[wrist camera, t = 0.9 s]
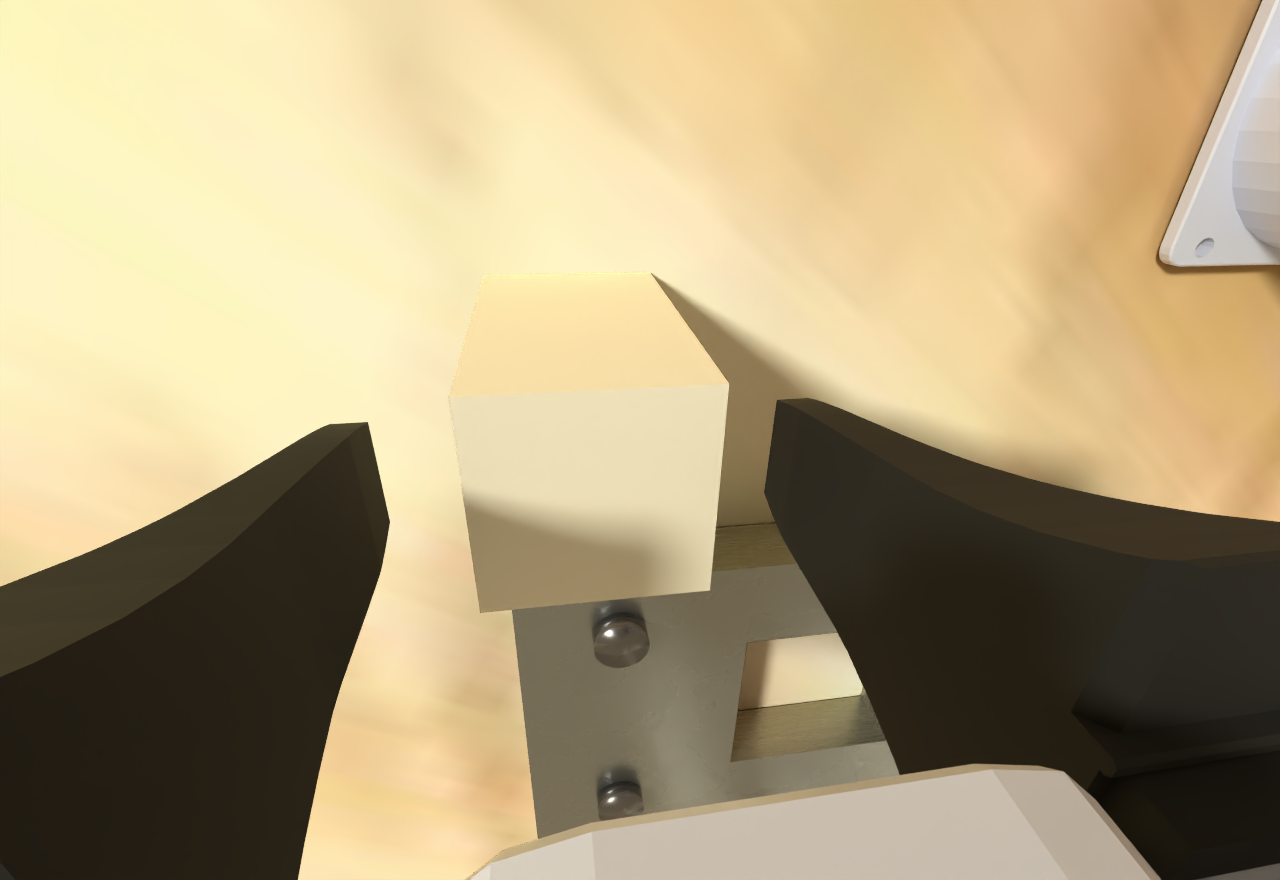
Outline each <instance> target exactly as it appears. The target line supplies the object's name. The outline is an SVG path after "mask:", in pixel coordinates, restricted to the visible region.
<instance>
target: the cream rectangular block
mask: <svg viewBox="0 0 1280 880" xmlns="http://www.w3.org/2000/svg"><path fill="white" fill-rule="evenodd" d="M728 392H729V383H728V381H727V380H726V379H725V377H724V376H723V374H722V373H721V372H720V370H719V369H718V367H717V366H716V364H715V363H714V362H713V360H712V359H711V357H710V356H709V355H708V353H707V352H706V350H705V349H704V348H703V346H702V345H701V343H700V342H699V341H698V339H697V338H696V336H695V335H694V334H693V332H692V331H691V329H690V328H689V327H688V325H687V324H686V322H685V321H684V319H683V318H682V317H681V315H680V314H679V312H678V311H677V310H676V308H675V307H674V305H673V304H672V303H671V301H670V300H669V298H668V297H667V296H666V294H665V293H664V291H663V290H662V289H661V287H660V286H659V284H658V283H657V281H656V280H655V279H654V277H653V276H652V274H651V273H650V272H624V273H574V274H524V275H484V276H483V279H482V283H481V286H480V290H479V293H478V297H477V300H476V303H475V307H474V310H473V314H472V317H471V321H470V324H469V328H468V331H467V335H466V338H465V342H464V345H463V349H462V352H461V356H460V359H459V362H458V366H457V369H456V373H455V376H454V380H453V383H452V387H451V390H450V394H449V404H450V411H451V418H452V425H453V431H454V438H455V445H456V452H457V459H458V465H459V472H460V479H461V486H462V493H463V499H464V506H465V513H466V520H467V527H468V533H469V540H470V547H471V554H472V561H473V567H474V574H475V581H476V588H477V594H478V601H479V608H480V613H483V612H493V611H504V610H514V609H524V608H534V607H545V606H555V605H565V604H576V603H586V602H596V601H606V600H617V599H627V598H637V597H648V596H658V595H668V594H678V593H689V592H699V591H709V590H710V584H711V573H712V563H713V552H714V541H715V531H716V520H717V509H718V499H719V488H720V477H721V467H722V456H723V445H724V435H725V424H726V413H727V403H728Z"/></svg>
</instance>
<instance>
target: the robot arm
mask: <svg viewBox="0 0 1280 880" xmlns="http://www.w3.org/2000/svg"><path fill="white" fill-rule="evenodd" d="M1198 244H1199V246H1198ZM1197 246H1198V247H1197ZM1196 247H1197V249H1196ZM1159 256H1160V260H1161V261H1162V262H1163V263H1166V264H1170V265H1174V266H1178V267H1187V266H1233V265H1280V0H1262V2H1261V5H1260V7H1259V10H1258V12H1257V14H1256V17H1255V19H1254V22H1253V24H1252V26H1251V29H1250V31H1249V34H1248V36H1247V38H1246V41H1245V43H1244V46H1243V48H1242V51H1241V53H1240V55H1239V58H1238V60H1237V63H1236V65H1235V67H1234V70H1233V72H1232V75H1231V77H1230V80H1229V82H1228V84H1227V87H1226V89H1225V92H1224V94H1223V96H1222V99H1221V101H1220V104H1219V106H1218V108H1217V111H1216V113H1215V116H1214V118H1213V121H1212V123H1211V125H1210V128H1209V130H1208V133H1207V135H1206V137H1205V140H1204V142H1203V145H1202V147H1201V149H1200V152H1199V154H1198V157H1197V159H1196V162H1195V164H1194V166H1193V169H1192V171H1191V174H1190V176H1189V178H1188V181H1187V183H1186V186H1185V188H1184V190H1183V193H1182V195H1181V198H1180V200H1179V203H1178V205H1177V207H1176V210H1175V212H1174V215H1173V217H1172V219H1171V222H1170V224H1169V227H1168V229H1167V231H1166V234H1165V236H1164V239H1163V241H1162V244H1161V246H1160V250H1159ZM764 493H765V496H766V499H767V501H768V504H769V507H770V510H771V512H772V515H773V517H774V520H775V522H776V525H777V527H778V529H779V532H780V534H781V536H782V538H783V540H784V542H785V543H786V545H787V547H788V549H789V551H790V552H791V554H792V556H793V557H794V559H795V561H796V563H797V564H798V566H799V568H800V570H801V571H802V573H803V575H804V576H805V578H806V580H807V581H808V583H809V585H810V586H811V588H812V590H813V591H814V593H815V595H816V597H817V598H818V600H819V602H820V603H821V605H822V607H823V608H824V610H825V612H826V613H827V615H828V617H829V619H830V620H831V622H832V624H833V625H834V627H835V629H836V631H837V632H838V634H839V636H840V638H841V640H842V642H843V644H844V646H845V647H846V649H847V651H848V653H849V656H850V658H851V660H852V662H853V665H854V667H855V669H856V671H857V674H858V676H859V678H860V680H861V682H862V685H863V687H864V689H865V691H866V694H867V696H868V698H869V700H870V703H871V705H872V707H873V710H874V712H875V715H876V717H877V720H878V722H879V724H880V727H881V729H882V732H883V734H884V736H885V739H886V741H887V744H888V746H889V748H890V751H891V753H892V756H893V758H894V761H895V764H896V766H897V769H898V771H899V774H900V775H898V776H892V777H885V778H879V779H872V780H866V781H859V782H853V783H846V784H840V785H833V786H827V787H820V788H814V789H807V790H801V791H794V792H788V793H781V794H775V795H768V796H762V797H755V798H749V799H742V800H736V801H729V802H723V803H716V804H710V805H703V806H697V807H690V808H684V809H678V810H671V811H665V812H658V813H652V814H645V815H639V816H632V817H626V818H619V819H613V820H606V821H600V822H593V823H589V824H585V825H582V826H579V827H576V828H572V829H569V830H566V831H563V832H560V833H556V834H553V835H550V836H547V837H543V838H540V839H537V840H534V841H531V842H527V843H524V844H521V845H518V846H515V847H511V848H508V849H505V850H503V851H501V852H500V853H499V854H498V855H496V856H495V857H494V858H492V859H491V860H490V861H488V862H487V863H486V864H485V865H483V866H482V867H481V868H479V869H478V870H477V871H475V872H474V873H473V874H472V875H470V876H469V877H468V878H466V879H465V880H1280V522H1275V521H1266V520H1257V519H1248V518H1239V517H1230V516H1221V515H1212V514H1205V513H1198V512H1191V511H1185V510H1179V509H1172V508H1166V507H1160V506H1154V505H1147V504H1141V503H1136V502H1131V501H1125V500H1120V499H1115V498H1110V497H1105V496H1100V495H1095V494H1091V493H1087V492H1082V491H1078V490H1073V489H1069V488H1064V487H1060V486H1056V485H1051V484H1048V483H1044V482H1040V481H1036V480H1032V479H1028V478H1025V477H1021V476H1018V475H1015V474H1011V473H1008V472H1005V471H1001V470H998V469H995V468H991V467H988V466H984V465H981V464H978V463H975V462H972V461H969V460H966V459H963V458H961V457H958V456H955V455H953V454H950V453H947V452H945V451H942V450H939V449H936V448H934V447H931V446H928V445H926V444H923V443H921V442H918V441H916V440H913V439H911V438H908V437H906V436H904V435H901V434H899V433H896V432H894V431H892V430H889V429H887V428H885V427H882V426H880V425H878V424H875V423H873V422H871V421H868V420H866V419H863V418H861V417H859V416H856V415H854V414H852V413H849V412H847V411H845V410H842V409H840V408H837V407H834V406H832V405H829V404H826V403H824V402H820V401H817V400H813V399H809V398H804V399H786V400H777V403H776V411H775V418H774V425H773V433H772V440H771V447H770V455H769V462H768V469H767V477H766V484H765V491H764ZM389 524H390V520H389V516H388V511H387V507H386V502H385V498H384V493H383V489H382V484H381V480H380V475H379V471H378V466H377V462H376V457H375V452H374V448H373V443H372V439H371V434H370V430H369V425H368V422H363V423H345V424H329V425H327V426H324V427H322V428H320V429H318V430H316V431H314V432H312V433H310V434H308V435H307V436H305V437H303V438H301V439H300V440H298V441H296V442H295V443H293V444H291V445H290V446H288V447H286V448H285V449H283V450H281V451H280V452H278V453H277V454H275V455H273V456H272V457H270V458H268V459H267V460H265V461H263V462H262V463H260V464H258V465H257V466H255V467H253V468H252V469H250V470H248V471H247V472H245V473H243V474H242V475H240V476H238V477H237V478H235V479H233V480H231V481H230V482H228V483H226V484H224V485H222V486H221V487H219V488H217V489H215V490H213V491H212V492H210V493H208V494H206V495H204V496H203V497H201V498H199V499H197V500H195V501H194V502H192V503H190V504H188V505H186V506H185V507H183V508H181V509H179V510H177V511H175V512H173V513H171V514H170V515H168V516H166V517H164V518H162V519H160V520H158V521H156V522H153V523H151V524H149V525H147V526H145V527H143V528H141V529H139V530H137V531H135V532H132V533H130V534H128V535H126V536H124V537H121V538H119V539H117V540H115V541H113V542H111V543H108V544H106V545H104V546H102V547H99V548H97V549H95V550H92V551H90V552H88V553H85V554H83V555H81V556H78V557H75V558H73V559H70V560H68V561H65V562H63V563H60V564H57V565H55V566H52V567H50V568H47V569H45V570H42V571H39V572H37V573H34V574H32V575H29V576H27V577H24V578H21V579H19V580H16V581H14V582H11V583H9V584H6V585H4V586H1V587H0V880H298V875H299V870H300V864H301V859H302V853H303V848H304V842H305V837H306V833H307V828H308V823H309V818H310V813H311V808H312V804H313V799H314V794H315V789H316V784H317V779H318V775H319V770H320V766H321V761H322V757H323V753H324V748H325V744H326V740H327V735H328V731H329V727H330V722H331V718H332V714H333V710H334V707H335V704H336V700H337V697H338V694H339V690H340V687H341V684H342V681H343V678H344V675H345V673H346V670H347V667H348V664H349V661H350V658H351V656H352V653H353V650H354V647H355V644H356V641H357V639H358V636H359V633H360V630H361V627H362V625H363V622H364V619H365V616H366V613H367V610H368V607H369V605H370V602H371V599H372V596H373V593H374V590H375V587H376V584H377V581H378V578H379V575H380V572H381V568H382V563H383V558H384V553H385V548H386V542H387V536H388V530H389Z"/></svg>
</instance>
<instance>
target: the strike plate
mask: <svg viewBox="0 0 1280 880" xmlns="http://www.w3.org/2000/svg"><path fill="white" fill-rule="evenodd" d="M512 614H513V623H514V632H515V640H516V649H517V658H518V667H519V676H520V685H521V693H522V702H523V711H524V720H525V729H526V737H527V746H528V755H529V764H530V773H531V782H532V790H533V799H534V808H535V817H536V826H537V834H538V839H540V838H543V837H547V836H550V835H553V834H556V833H560V832H563V831H566V830H569V829H572V828H576V827H579V826H582V825H585V824H589V823H593V822H600V821H606V820H613V819H619V818H626V817H632V816H639V815H645V814H652V813H658V812H665V811H671V810H678V809H684V808H690V807H697V806H703V805H710V804H716V803H723V802H729V801H736V800H742V799H749V798H755V797H762V796H768V795H775V794H781V793H788V792H794V791H801V790H807V789H814V788H820V787H827V786H833V785H840V784H846V783H853V782H859V781H866V780H872V779H879V778H885V777H892V776H898V775H900V774H899V771H898V769H897V766H896V764H895V761H894V758H893V756H892V753H891V751H890V748H889V746H888V744H887V741H886V739H885V736H884V734H883V732H882V729H881V727H880V724H879V722H878V720H877V717H876V715H875V712H874V710H873V707H872V705H871V703H870V700H869V698H868V696H867V694H866V691H865V689H864V687H863V690H862V693H861V696H855V697H847V698H839V699H831V700H823V701H815V702H808V703H800V704H792V705H784V706H776V707H768V708H760V709H752V710H745V711H738V704H739V697H740V689H741V682H742V675H743V668H744V661H745V654H746V647H747V642H756V641H765V640H774V639H783V638H792V637H801V636H810V635H819V634H828V633H837V631H836V629H835V627H834V625H833V624H832V622H831V620H830V619H829V617H828V615H827V613H826V612H825V610H824V608H823V607H822V605H821V603H820V602H819V600H818V598H817V597H816V595H815V593H814V591H813V590H812V588H811V586H810V585H809V583H808V581H807V580H806V578H805V576H804V575H803V573H802V571H801V570H800V568H799V566H798V564H797V563H796V561H795V559H794V557H793V556H792V554H791V552H790V551H789V549H788V547H787V545H786V543H785V542H784V540H783V538H782V536H781V534H780V532H779V529H778V527H777V525H776V523H768V524H756V525H743V526H731V527H719V528H716V531H715V541H714V552H713V563H712V573H711V584H710V590H709V591H699V592H689V593H678V594H668V595H658V596H648V597H637V598H627V599H617V600H606V601H596V602H586V603H576V604H565V605H555V606H545V607H534V608H524V609H514V610H512Z"/></svg>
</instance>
